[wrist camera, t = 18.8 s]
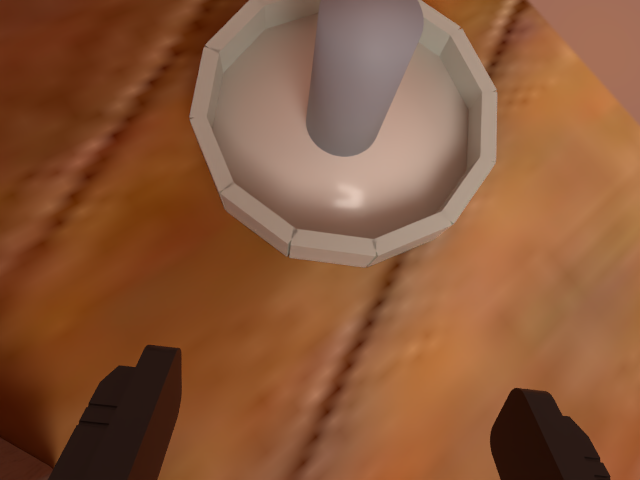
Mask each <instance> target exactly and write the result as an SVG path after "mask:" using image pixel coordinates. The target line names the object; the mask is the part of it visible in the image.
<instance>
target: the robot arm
mask: <svg viewBox="0 0 640 480" xmlns="http://www.w3.org/2000/svg"><path fill="white" fill-rule="evenodd" d="M181 393H182V381H181V349H180V348H172V347H164V346H155V345H147V346H146V347H145V349H144V351H143V353H142V355H141V357H140V359H139V361H138V363H137V365H136V367H129V366H118V367H117V368H116V369H114V370H113V371H112V372H111V373H110V374H109V375H108V376H106V377H105V378H104V379H103V380H102V381H101V382H100V383H99V385H98V387H97V389H96V391H95V392H94V394H93V396H92V398H91V400H90V402H89V405H88V407H86V409H85V411H84V413H83V415H82V417H81V418H80V420H79V424H78V425H77V426H76V428H75V430H74V431H73V433H72V435H71V437H70V439H69V441H68V443H67V445H66V446H65V448H64V450H63V452H62V454H61V456H60V458H59V459H58V461H57V463H56V465H55V467H54V469H53V471H52V472H51V474H50V476H49V478H48V480H157V479H158V476H159V473H160V470H161V466H162V463H163V460H164V457H165V454H166V451H167V448H168V445H169V442H170V439H171V436H172V433H173V430H174V426H175V423H176V420H177V417H178V413H179V408H180V402H181ZM490 446H491V452H492V455H493V458H494V461H495V464H496V467H497V470H498V473H499V476H500V479H501V480H610V475H609V473H608V471H607V469H606V468H605V466H604V464H603V463H601V462H600V457H599V455H598V453H597V451H596V450H595V448H594V446H593V444H592V442H591V441H590V439H589V437H588V436H587V435H586V434H585V433H584V432H583V430H582V429H581V428H580V427H579V426H578V425H577V424H576V423H575V422H574V421H573V420H572V419H571V418H570V417H568V416H562V414H561V412H560V410H559V408H558V406H557V404H556V402H555V400H554V399H553V397H552V396H551V394H550V393H548V392H546V391H539V390H530V389H521V388H514V389H513V390H512V391H511V392H510V394H509V396H508V398H507V400H506V402H505V403H504V405H503V407H502V409H501V411H500V413H499V415H498V417H497V419H496V421H495V423H494V425H493V427H492V430H491V435H490Z"/></svg>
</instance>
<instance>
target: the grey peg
mask: <svg viewBox="0 0 640 480" xmlns="http://www.w3.org/2000/svg"><path fill="white" fill-rule="evenodd" d="M423 26H424V18H423V12H422V9H421V6H420V4H419V2H418V0H321V1H320V5H319V12H318V21H317V29H316V38H315V47H314V55H313V64H312V73H311V81H310V90H309V99H308V107H307V116H306V127H307V131H308V133H309V136H310V138H311V139H312V141H313V142H314V143H315V144H316V145H317V146H318V147H319V148H320V149H322V150H323V151H325V152H327V153H329V154H331V155H335V156H340V157H349V156H354V155H358V154H360V153H362V152H364V151H365V150H367V149H368V148H369V147H370V146H371V145H372V144H373V142H374V141H375V139H376V137H377V135H378V133H379V130H380V128H381V126H382V123H383V121H384V119H385V117H386V114H387V112H388V110H389V108H390V105H391V103H392V101H393V98H394V96H395V94H396V92H397V89H398V87H399V85H400V83H401V80H402V78H403V76H404V73H405V71H406V69H407V67H408V64H409V62H410V60H411V58H412V55H413V53H414V51H415V49H416V46H417V44H418V42H419V39H420V37H421V34H422V31H423Z"/></svg>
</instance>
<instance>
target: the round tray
mask: <svg viewBox="0 0 640 480" xmlns="http://www.w3.org/2000/svg"><path fill="white" fill-rule="evenodd" d="M320 1H321V0H249V1H248V2H247V3H246V4H245V5H244V6H243V7H242V8H241V9H240V10H239V11H238V12H237V13H236V14H235V15H234V16H233V17H232V18H231V19H230V20H229V21H228V22H227V23H226V24H225V25H224V26H223V27H222V28H221V29H220V30H219V31H218V32H217V33H216V34H215V35H214V36H213V37H212V38H211V39H210V40H209V41H208V42H207V43H206V44H205V47H204V48H203V53H202V58H201V63H200V68H199V72H198V77H197V82H196V87H195V92H194V96H193V101H192V106H191V111H190V116H189V118H190V122H191V125H192V128H193V130H194V133H195V136H196V138H197V141H198V144H199V146H200V149H201V151H202V154H203V156H204V159H205V161H206V164H207V166H208V169H209V171H210V174H211V176H212V179H213V181H214V183H215V186H216V188H217V191H218V193H219V196H220V198H221V201H222V203H223V206H224V208H225V209H226V211H227V212H228V213H229V214H231V215H232V216H233V217H235V218H236V219H237V220H239V221H240V222H241V223H243V224H244V225H245V226H247V227H248V228H249V229H251V230H252V231H253V232H255V233H256V234H257V235H259V236H260V237H261V238H263V239H264V240H265V241H267V242H268V243H269V244H271V245H272V246H273V247H275V248H276V249H277V250H279V251H280V252H281V253H283V254H284V255H285V256H288V255H289V253H290V255H289V258H296V259H304V260H311V261H319V262H327V263H334V264H342V265H350V266H357V267H366V266H367V267H369V266H371V265H374V264H376V263H379V262H381V261H383V260H386V259H388V258H391V257H393V256H395V255H398V254H400V253H402V252H405V251H407V250H410V249H412V248H414V247H417V246H419V245H421V244H424V243H426V242H429V241H431V240H433V239H435V238H436V237H437V236H439V235H440V234H441V233H443V232H444V231H445V230H447V229H448V228H449V227H450V226H452V225H453V224H454V223H455V222H456V220H457V219H458V217H459V216H460V214H461V213H462V211H463V210H464V208H465V207H466V206H467V204H468V203H469V201H470V200H471V198H472V197H473V195H474V194H475V192H476V191H477V190H478V188H479V187H480V185H481V184H482V182H483V181H484V179H485V178H486V177H487V175H488V174H489V172H490V171H491V169H492V168H493V166H494V165H495V162H496V134H497V92H495V91H496V88H495V86H494V84H493V82H492V81H491V79H490V77H489V75H488V74H487V72H486V70H485V68H484V67H483V65H482V63H481V61H480V59H479V58H478V56H477V54H476V52H475V51H474V49H473V47H472V45H471V44H470V42H469V40H468V38H467V36H466V35H465V33H464V31H463V29H460V26H458V25H457V24H455V23H454V22H452V21H451V20H449V19H448V18H447V17H445V16H444V15H442V14H441V13H439V12H438V11H436V10H435V9H433V8H432V7H430V6H429V5H427V4H426V3H424V2H423V1H421V0H418V2H419V4H420V6H421V9H422V12H423V18H424V26H423V31H422V34H421V37H420V39H419V42H418V44H417V46H416V49H415V51H414V53H413V55H412V58H411V60H410V62H409V64H408V67H407V69H406V71H405V73H404V76H403V78H402V80H401V83H400V85H399V87H398V89H397V92H396V94H395V96H394V98H393V101H392V103H391V105H390V108H389V110H388V112H387V114H386V117H385V119H384V121H383V123H382V126H381V128H380V130H379V133H378V135H377V137H376V139H375V141H374V142H373V144H372V145H371V146H370V147H369V148H368V149H367V150H365V151H364V152H362V153H360V154H358V155H354V156H349V157H340V156H335V155H331V154H329V153H327V152H325V151H323V150H322V149H320V148H319V147H318V146H317V145H316V144H315V143H314V142H313V141H312V139H311V138H310V136H309V133H308V131H307V127H306V116H307V107H308V99H309V90H310V81H311V73H312V64H313V55H314V47H315V38H316V29H317V21H318V12H319V5H320ZM459 29H460V30H459Z"/></svg>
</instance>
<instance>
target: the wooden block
mask: <svg viewBox="0 0 640 480" xmlns="http://www.w3.org/2000/svg"><path fill="white" fill-rule="evenodd" d="M52 471H53V469H52V468H51V467H50V466H49V465H47V464H45V463H43V462H42V461H40V460H38V459H36V458H35V457H33V456H31V455H30V454H28V453H26V452H24V451H23V450H21V449H19V448H18V447H16V446H14V445H12V444H11V443H9V442H7V441H5V440H4V439H2V438H0V480H48V478H49V476H50V474H51V472H52Z"/></svg>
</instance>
